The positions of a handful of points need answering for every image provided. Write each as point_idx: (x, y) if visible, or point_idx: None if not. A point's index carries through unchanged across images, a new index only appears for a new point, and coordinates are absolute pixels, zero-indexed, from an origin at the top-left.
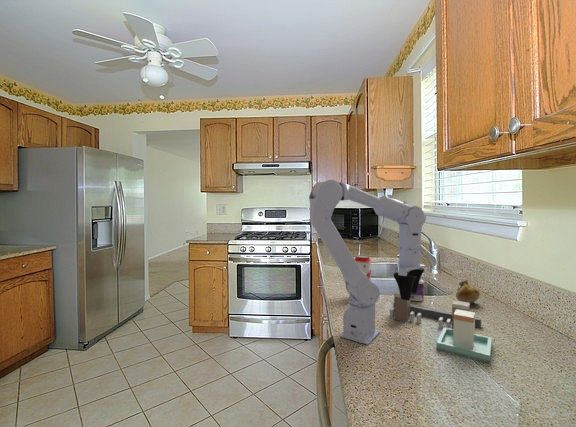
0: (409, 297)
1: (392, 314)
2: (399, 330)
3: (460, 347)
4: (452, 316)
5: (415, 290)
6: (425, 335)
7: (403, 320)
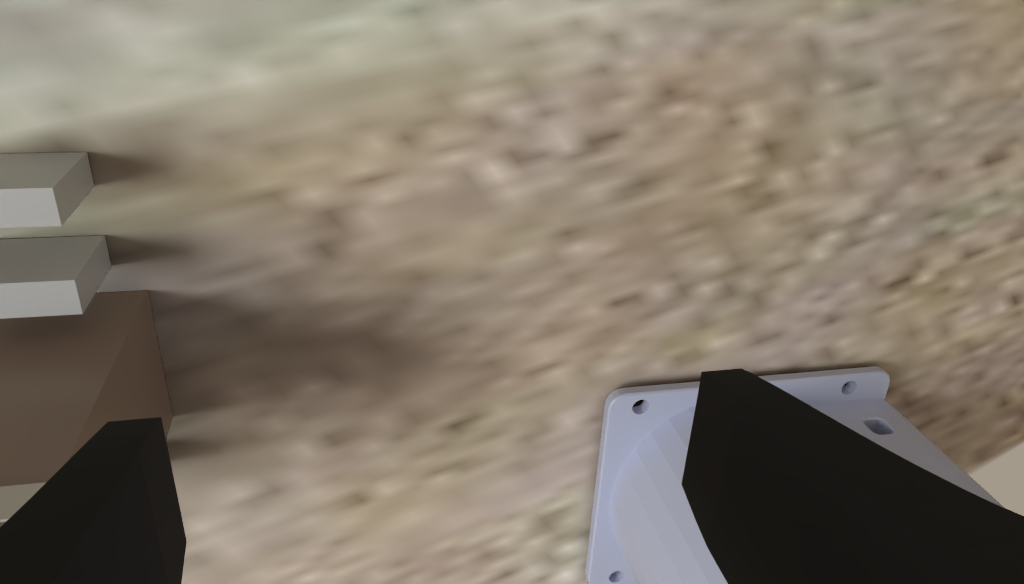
0: (786, 394)
1: None
2: (456, 274)
3: None
4: None
5: (149, 471)
6: (420, 5)
7: (152, 327)
